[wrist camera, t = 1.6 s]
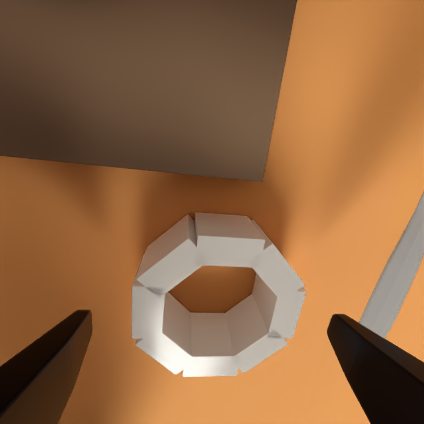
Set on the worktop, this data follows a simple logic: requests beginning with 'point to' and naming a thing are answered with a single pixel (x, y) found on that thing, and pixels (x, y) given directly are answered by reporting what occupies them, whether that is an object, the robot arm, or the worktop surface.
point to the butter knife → (396, 276)
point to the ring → (214, 322)
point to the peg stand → (143, 83)
